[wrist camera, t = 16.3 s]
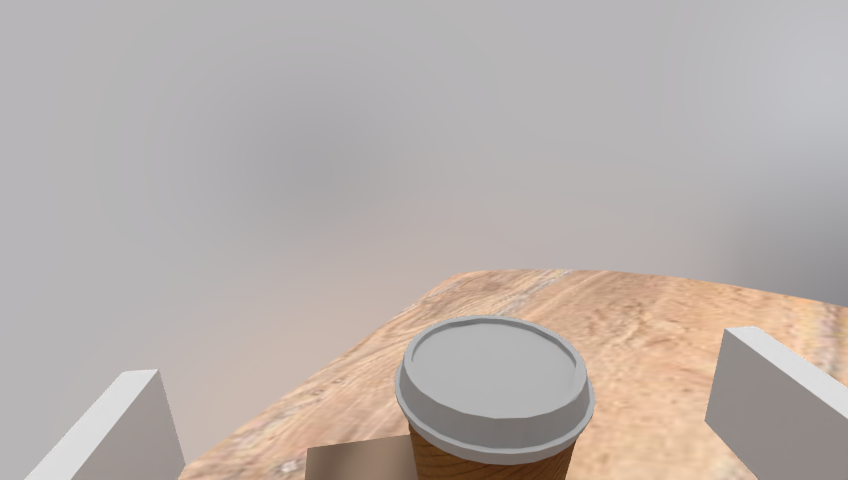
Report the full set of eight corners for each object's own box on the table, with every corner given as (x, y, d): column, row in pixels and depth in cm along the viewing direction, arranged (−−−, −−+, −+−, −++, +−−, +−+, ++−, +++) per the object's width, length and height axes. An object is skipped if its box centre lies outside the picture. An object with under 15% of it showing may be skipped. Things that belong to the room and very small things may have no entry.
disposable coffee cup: (480, 689, 19) (491, 467, 15) (369, 524, 26) (357, 346, 23) (609, 557, 24) (641, 368, 21) (486, 450, 32) (493, 296, 28)
